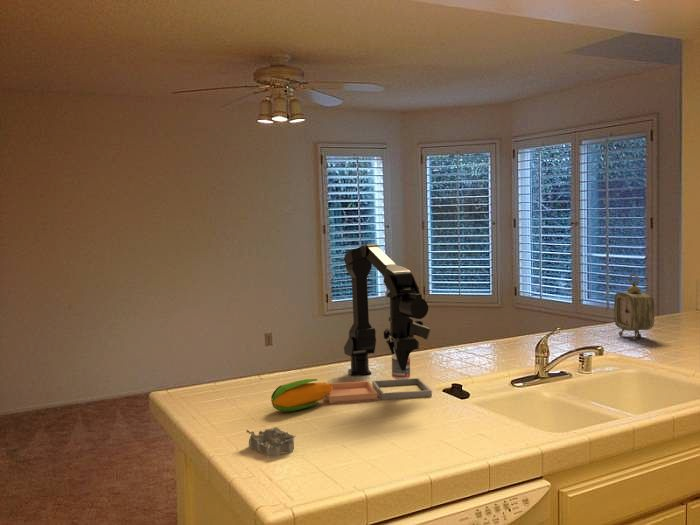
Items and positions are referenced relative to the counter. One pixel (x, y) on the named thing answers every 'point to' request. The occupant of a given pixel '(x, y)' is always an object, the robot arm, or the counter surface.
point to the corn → (299, 395)
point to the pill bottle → (397, 371)
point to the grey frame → (396, 395)
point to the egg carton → (272, 442)
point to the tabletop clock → (634, 310)
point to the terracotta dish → (352, 392)
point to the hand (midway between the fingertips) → (400, 368)
